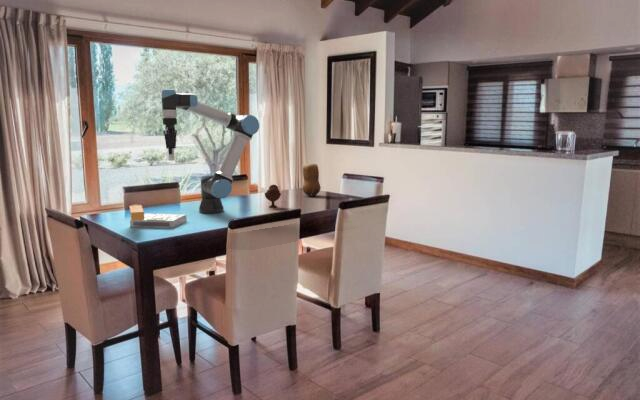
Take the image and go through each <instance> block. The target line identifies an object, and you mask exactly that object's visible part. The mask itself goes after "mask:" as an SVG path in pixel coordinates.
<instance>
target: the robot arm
mask: <svg viewBox="0 0 640 400" xmlns="http://www.w3.org/2000/svg"><path fill="white" fill-rule="evenodd" d="M160 98H161V105H162V106H161V107H162V109H161V110H162V111H161V113H162V117H163V118H162V124H163V126H164V125H165V129H163V130H162V131H163V134H164V135H163V136H164V141H165V146H166V149H168V150H167V151H168V160H169V161H175V149H176V146H177V133H178V130H177V129H176V127H175V125H178V119H177V115H178V113H177V109H181V110H184V111H187V112H190V113H192V114H195V115H197V116H200V117H202V118H205V119H207V120H210V121H212V122H215V123H218V124H219V125H223V127H224V128H226V129H228V130H231V131H232V133H233V134H234V135H233V138H232V140H231V143H230V145H229V147H228V149H227V152H226V154H225V156H224V159H223V161H222V162H221V165H220V167H219V169H218V171H216V172H214V174H207V175H205V174H204V175H201V177H200V189H201V190H200V193H201V200H200V204H199V207H198V212H199V213H200V214H219V213H222V212H223V213H224V211H225V209H224V205H223V202H222V199H225V198H227V197H228V196H230V195H231V193H232V190H233V187H232V184H233V181H234V179H233V175H234V173H235V171H236V168H237V166H238V163H239V162H240V159H241V157H242V155H243V152H244V150H245V147H246V146H247V144H248V142H249V141H251V140H252V138H253V136H254V135H255V134H257V132H258V131H259V130H260V122H259V119H258V118H257V116H254V115H252V114H235V113H232V112H228V113H227V112H225V111H222V110H219V109H217V108H215V107H212V106H210V105H208V104H205V103H202V102H200V101H198V95H197V94H196V93H179V92H177V91H176V89H172V88H171V89H170V88H169V89H168V88H165V89H161V97H160Z"/></svg>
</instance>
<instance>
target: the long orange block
mask: <svg viewBox="0 0 640 400" xmlns="http://www.w3.org/2000/svg"><path fill="white" fill-rule="evenodd" d="M144 214H145V211H144V209H143V205H142V204H131V205H129V216H130V219H131V220H132V221H133V220H144Z"/></svg>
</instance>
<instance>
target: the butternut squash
mask: <svg viewBox="0 0 640 400" xmlns="http://www.w3.org/2000/svg"><path fill="white" fill-rule="evenodd" d="M302 175H303V184H302V191H303V193H304V194H305V195H307V196H308V197H316V196H317V195H318V194H319V193H320V191H321V188H322V187H321V185H320V184H321V183H320V181H319V178H320V177H319V176H320V171H319V167H318V164H316V163H306V164H303V166H302Z"/></svg>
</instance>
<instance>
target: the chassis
mask: <svg viewBox="0 0 640 400" xmlns="http://www.w3.org/2000/svg"><path fill="white" fill-rule="evenodd" d="M187 222H188V221H187V214H178V213H149V212H148V213H144V220H133V221H132V220H131V218H130V219H129V225H130V228H150V229H152V228H155V229H174V228H177V227H179V226H181V225H183V224H184V223H187Z"/></svg>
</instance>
